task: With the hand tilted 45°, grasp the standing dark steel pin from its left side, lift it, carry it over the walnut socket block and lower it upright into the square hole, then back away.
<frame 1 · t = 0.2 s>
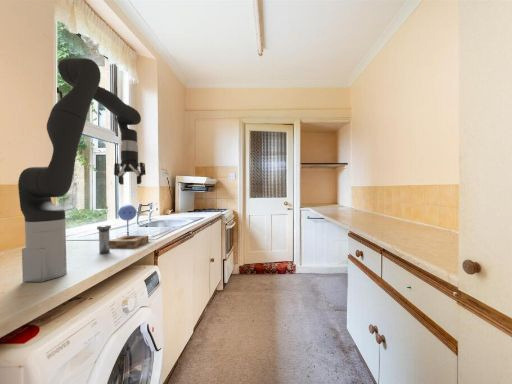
hand: (130, 184, 116), 29 cm above the counter, tool pointing down, fingers open, 8 cm apart
hole block: (129, 244, 112), on the counter
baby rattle: (128, 238, 126), on the counter
pin: (104, 252, 98), on the counter
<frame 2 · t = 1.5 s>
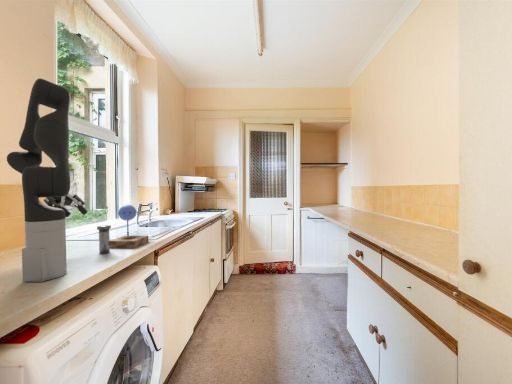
hand: (77, 214, 99), 16 cm above the counter, tool tilted 45°, fingers open, 8 cm apart
nothing on the counter moved.
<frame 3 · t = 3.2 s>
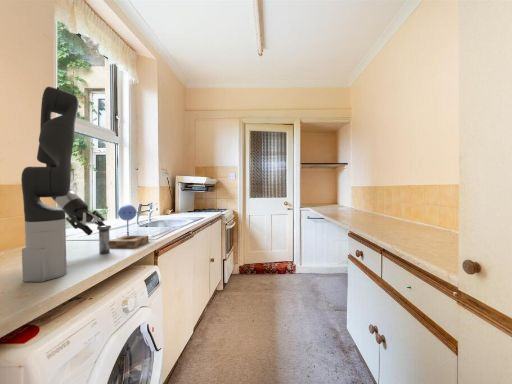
hand: (98, 231, 98), 9 cm above the counter, tool tilted 45°, fingers open, 8 cm apart
nothing on the counter moved.
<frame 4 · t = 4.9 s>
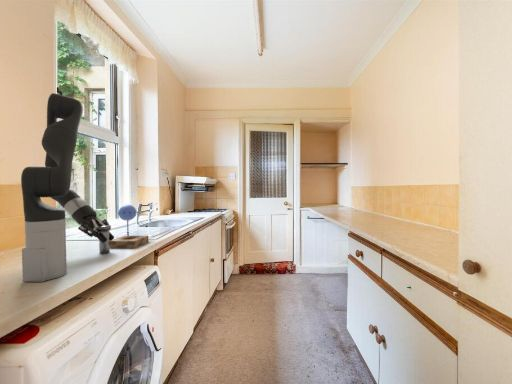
hand: (109, 240, 98), 5 cm above the counter, tool tilted 45°, fingers closed on pin, 3 cm apart
pin: (104, 252, 98), on the counter, touching gripper
everything else where it was.
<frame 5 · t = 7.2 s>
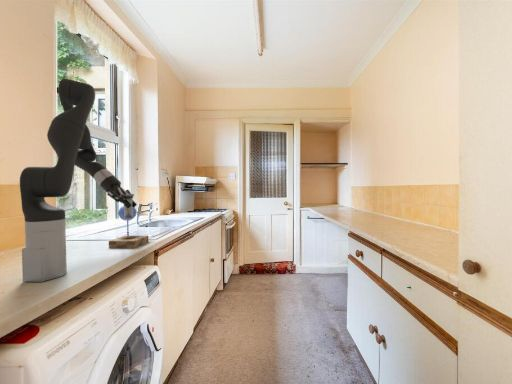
hand: (132, 206, 112), 18 cm above the counter, tool tilted 45°, fingers closed on pin, 3 cm apart
pin: (128, 217, 112), point 13 cm above the counter, touching gripper
everything else where it was.
when the fingers open (7 cm above the counter, at t = 9.6 s): pin drops 2 cm, resting in hole block.
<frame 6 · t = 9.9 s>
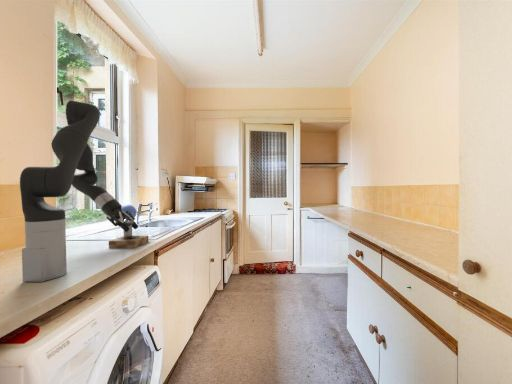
hand: (132, 229, 112), 7 cm above the counter, tool tilted 45°, fingers open, 6 cm apart
pin: (128, 244, 112), resting in hole block
everything else where it was.
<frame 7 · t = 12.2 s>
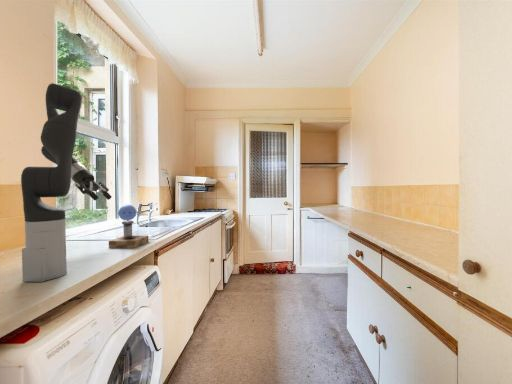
hand: (103, 198, 111), 22 cm above the counter, tool tilted 45°, fingers open, 8 cm apart
nothing on the counter moved.
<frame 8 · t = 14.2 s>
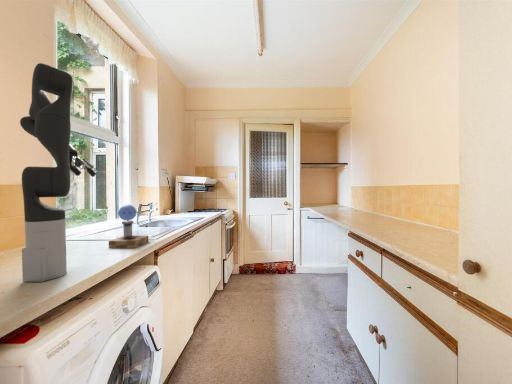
hand: (87, 174, 105), 33 cm above the counter, tool tilted 45°, fingers open, 8 cm apart
nothing on the counter moved.
at the end: pin 0.6 cm off-centre on the hole block, point 0.0 cm above the hole block's base; pin tilted 0°; the gripper is holding nothing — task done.
